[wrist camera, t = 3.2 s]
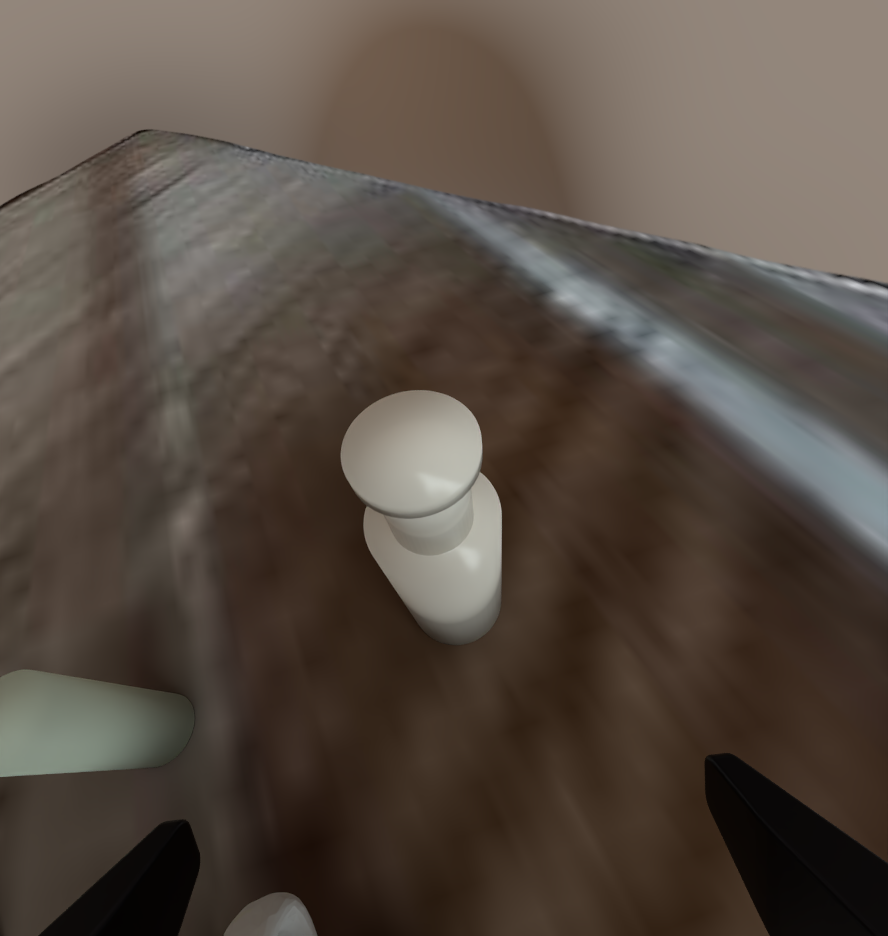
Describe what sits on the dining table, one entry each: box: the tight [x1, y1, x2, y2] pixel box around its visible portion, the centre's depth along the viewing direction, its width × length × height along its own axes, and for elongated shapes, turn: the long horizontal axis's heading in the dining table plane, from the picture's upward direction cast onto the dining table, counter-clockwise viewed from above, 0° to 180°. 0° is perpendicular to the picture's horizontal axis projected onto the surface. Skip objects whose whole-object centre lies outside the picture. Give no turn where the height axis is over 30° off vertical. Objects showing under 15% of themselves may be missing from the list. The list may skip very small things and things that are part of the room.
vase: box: [341, 390, 502, 645], centre depth 17 cm, size 5×5×14 cm
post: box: [0, 669, 195, 777], centre depth 17 cm, size 3×3×8 cm
